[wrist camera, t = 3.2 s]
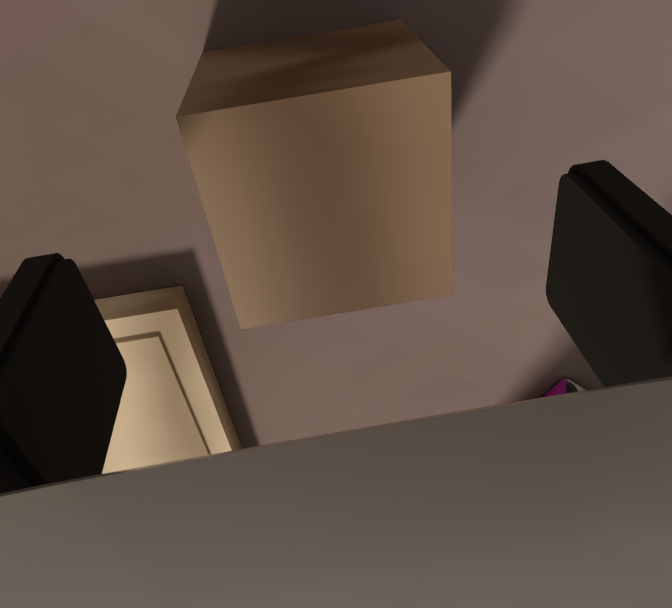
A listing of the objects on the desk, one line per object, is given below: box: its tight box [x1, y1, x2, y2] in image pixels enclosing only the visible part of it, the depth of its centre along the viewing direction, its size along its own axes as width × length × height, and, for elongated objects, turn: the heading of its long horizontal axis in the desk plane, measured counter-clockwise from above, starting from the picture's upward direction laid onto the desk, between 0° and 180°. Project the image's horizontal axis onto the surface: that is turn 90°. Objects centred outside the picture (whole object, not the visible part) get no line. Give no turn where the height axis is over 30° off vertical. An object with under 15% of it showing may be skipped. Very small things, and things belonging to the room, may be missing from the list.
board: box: [94, 285, 242, 474], centre depth 26 cm, size 16×16×2 cm
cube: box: [176, 19, 453, 329], centre depth 16 cm, size 6×6×6 cm
